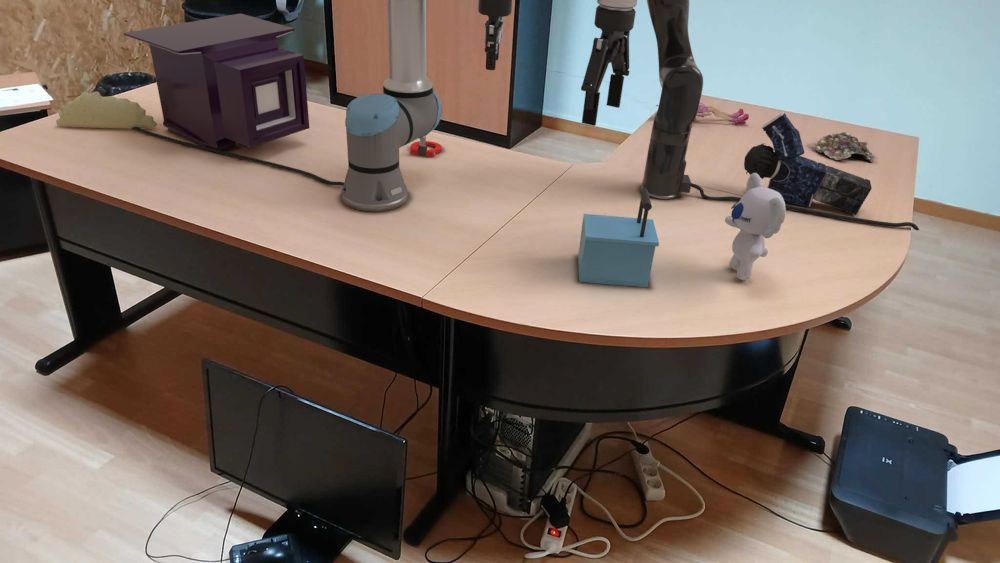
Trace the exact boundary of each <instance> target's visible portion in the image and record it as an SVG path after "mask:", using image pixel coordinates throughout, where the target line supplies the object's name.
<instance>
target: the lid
mask: <svg viewBox="0 0 1000 563" xmlns="http://www.w3.org/2000/svg"><path fill="white" fill-rule="evenodd" d="M639 195H640V201H639V207H638V212H637V217H629V216H618V215H617V216H616V215H605V214H594V213H593V214H591V213H583V217H582V220H583V219H584V231H585V240H590V241H602V242H614V243H626V244H638V245H650V246H656V247H659V245H660V241H659V237H658V233H657V230H656V225H655V221H654V219H652V218H648V215H649V212H650V211H651V210H652V207H653V206H652V200H651V198H650V197H651V196H649V194H648V190H647V189H646V188H642V189H641V188H640V189H639Z"/></svg>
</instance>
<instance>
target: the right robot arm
mask: <svg viewBox="0 0 1000 563" xmlns="http://www.w3.org/2000/svg"><path fill="white" fill-rule="evenodd" d="M646 4H647V7H648V8H647V9H648V14H649V18H650V21H651V25H652V28H653V31H654V35H655V39H656V45H657V46H656V47H657V56H658V57H657V59H658V60H657V61H658V81H659V85H660V87H661V93H660V97H659V102H658V105H659V106H657V107H658V108H657V111H656V112H655V113H654V115H653V122H652V128H651V133H650V138H649V144H648V148H647V156H646V160H645V161H646V162H645V165H644V172H643V178H642V183H641V186H640V190H641V189H642V188H646V189H647V190H648V194H649V197H651V198H655V199H660V200H661V199H662V200H669V199H670V200H671V199H674V198H678V199H679V198H680V196H681V193H686V194H687V193H688V194H690V193H691V189H692V188H694V189H696V190H698V191H699V194H700V196H701V198H703V199H705V200H708V201H717V202H719V201H720V202H721V201H734V202H735V201H736V202H739V201H740V199H741V198H742V196H740V197H739V196H731V195H729V196H727V195H726V196H709V195H707V194H706V193H705V192H704V189H703V188H702V186H699V185H698V184H696V183H693V182H692V181H691V178H690V176H689V174H685V173H686V172H685V171H686V167H687V160H686V156H687V151H688V146H689V141H690V136H691V132H692V128H693V124H694V123H695V121H696V120H695V119H697V116H696V115H697V111H698V107H699V103H701V98H702V93H703V88H704V76H703V72H702V71H701V70H700V69H699V66H698V65H697V64H696V61H695V58H694V54H693V50H692V46H691V41H690V35H689V18H690V0H646ZM477 7H478V8H477V11H478V13H479V14H480V15H483V16H487V17H488V19H487V20H485V22H484V44H485V45H484V53H485V69H486V70H487V71H495V70H496V64H497V61H498V60H499V57H500V44H501V41H502V40H501V38H502V37H503V30H504V21H503V17H508V16H510V15H511V14H512V13H513V12H512V11H513V10H512V9H513V0H478V6H477ZM694 120H695V121H694ZM785 208H786V210H791V211H796V212H802V213H806V214H812V215H818V216H821V217H822V216H823V217H827V218H834V219H838V220H844V221H849V222H857V223H862V224H869V225H875V226H882V227H890V228H900V227H901V228H902V227H911V228H913V230H915V231H920V228H919V226H917V224H915V223H913V222H911V221H903V222H890V221H889V222H888V221H879V220H873V219H868V218H860V217H855V216H854V217H853V216H849V215H842V214H837V213H831V212H825V211H820V210H816V209H810V208H807V207H806V208H805V207H799V206H795V205H789V204H785Z"/></svg>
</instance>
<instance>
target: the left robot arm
mask: <svg viewBox="0 0 1000 563" xmlns="http://www.w3.org/2000/svg"><path fill="white" fill-rule="evenodd" d="M596 2H597V4H598V5H597V6H596V7H595V13H594V14H595V15H594V23H593V24H594V26H595V27H596V28H597V29H600V30H601V33H600V36H599V37H594V38H593V42H592V48H591V53H590V56H589V60H588V64H587V66H586V70H585V74H584V77H583V81H582V83H581V84H582V85H581V86H580V90H581V92H585V94H584V95H585V96H584V101H583V110H582V111H583V112H582V118H581V124H584V125H589V126H592V127H593V126H594V127H595V126H597V119H598V111H599V103H600V97H601V92H600V89H601V86H602V83H603V80H604V78H605V76H606V72H607V69H608V67H609V64H611V69H612V73H611V74H610V78H609V85H608V92H607V99H606V106H608V107H612V108H618V109H619V108H620V107H621V100H622V96H623V95H622V93H623V87H624V81H625V76H626V77H629V75H630V33H631V31H632V30H633V29H634V26H635V19H636V9H635V8H636V7H637V3H638V0H596ZM386 13H387V14H386V15H387V44H388V45H387V46H388V48H387V49H388V77H387V78H386V79H385V80H384V81H383V82H382V93H370V94H363V95H361V96H358V97H356V98H353V100H351V101H350V102H349V103H348V105H347V106H346V109H345V120H344V123H345V125H344V126H345V131H346V149H347V150H346V151H347V161H348V162H347V163H348V167H347V168H348V169H347V172H346V174H345V178H344V181H334V180H333V181H332V180H329V179H326V178H322V177H321V176H319V175H316V174H314V173H311V172H308V171H305V170H302V169H298V168H295V167H291V166H287V165H283V164H279V163H276V162H273V161H272V162H271V161H268V160H264V159H260V158H255V157H251V156H246V155H242V154H238V153H233V152H229V151H221V150H217V149H212V148H208V147H205V146H203V145H200V144H197V143H192V142H188V141H185V140H184V141H183V140H180V139H177V138H173V137H170V136H166V135H163V134H159V133H156V132H152V131H150V130H146V129H145V128H138V127H132V128H130V129H131V130H134V131H137V132H140V133H143V134H145V135H149V136H152V137H154V138H155V137H156V138H159V139H162V140H164V141H165V140H166V141H168V142H171V143H175V144H179V145H184V146H187V147H191V148H195V149H199V150H203V151H207V152H211V153H215V154H220V155H224V156H229V157H233V158H237V159H242V160H245V161H250V162H254V163H258V164H262V165H266V166H271V167H274V168H278V169H281V170H286V171H290V172H293V173H298V174H301V175H304V176H307V177H310V178H312V179H315V180H317V181H318V182H321V183H323V184H326V185H331V186H342V188H341V200H342V202H343V203H344V204H345V205H346V206H348V207H349V208H351V209H354V210H357V211H363V212H373V213H374V212H375V213H376V212H385V211H391V210H394V209H397V208H399V207H401V206H403V205H404V204H405V203H406V202H407V201H408V188H407V185H406V183H405V180H404V177H403V174H402V171H401V168H400V148H402V147H405V146H406V145H408V144H411V143H412V142H415V141H417V140H418V139H420V138H422V137H424V136H426V137H427V135H429V134H430V133H431V132H432V131H434V130H435V129H436V128H437V127H438V125H439V123H440V121H441V118H442V112H443V109H442V108H443V107H442V102H441V99H440V97H438V96H437V95H438V93H437V92H436V90H434V84H433V82H432V81H431V80H430V79H429V78H428V77H427V0H386Z"/></svg>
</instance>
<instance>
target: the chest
mask: <svg viewBox="0 0 1000 563" xmlns="http://www.w3.org/2000/svg"><path fill="white" fill-rule="evenodd" d="M580 232H581V233H580V240H579V246H578V253H577V265H578V279H579V280H578V281H579V282H580V283H589V284H591V283H592V284H601V285H602V284H603V285H613V286H614V285H615V286H625V287H635V288H636V287H638V288H648V286H649V281H650V277H651V272H652V267H653V261H654V256H655V251H656V247H657V246H650V245H638V244H626V243H614V242H602V241H590V240H585V231H584V219H583V218H582V224H581V231H580Z"/></svg>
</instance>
